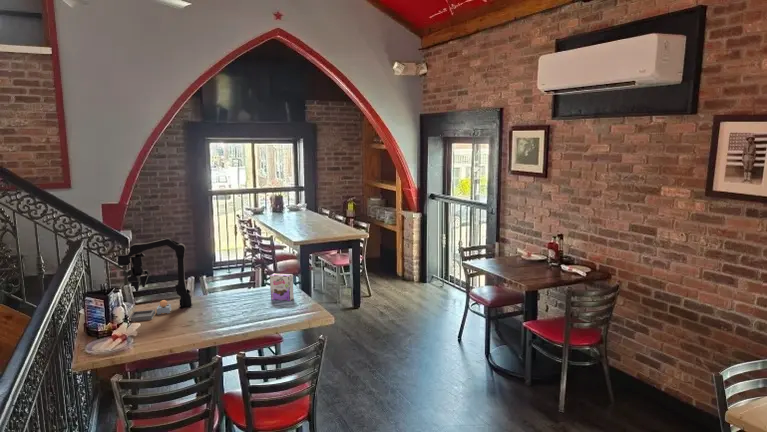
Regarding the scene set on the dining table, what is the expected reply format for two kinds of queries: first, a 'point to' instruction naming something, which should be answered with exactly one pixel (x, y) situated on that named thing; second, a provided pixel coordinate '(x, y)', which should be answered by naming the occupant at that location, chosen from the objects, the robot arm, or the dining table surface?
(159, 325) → the dining table surface
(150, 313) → the tray
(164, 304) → the ball
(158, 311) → the light blue storage bin
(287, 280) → the candy box
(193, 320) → the dining table surface
